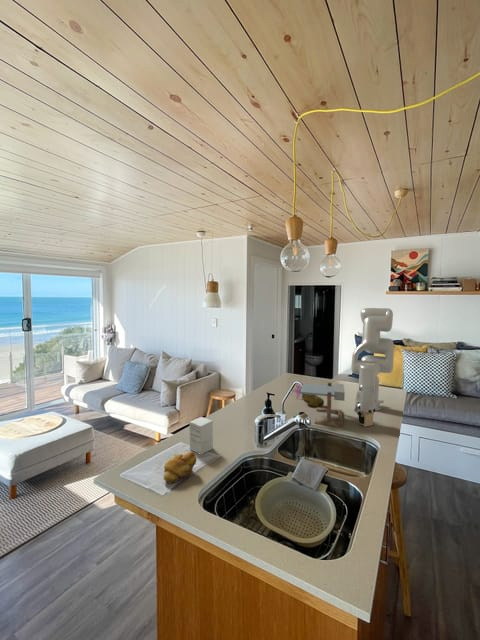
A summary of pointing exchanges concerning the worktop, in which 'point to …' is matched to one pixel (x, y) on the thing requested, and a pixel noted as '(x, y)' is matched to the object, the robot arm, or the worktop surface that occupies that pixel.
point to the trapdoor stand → (329, 411)
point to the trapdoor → (324, 390)
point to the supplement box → (201, 435)
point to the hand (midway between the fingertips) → (365, 422)
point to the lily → (298, 390)
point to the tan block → (367, 419)
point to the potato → (313, 400)
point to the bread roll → (179, 467)
